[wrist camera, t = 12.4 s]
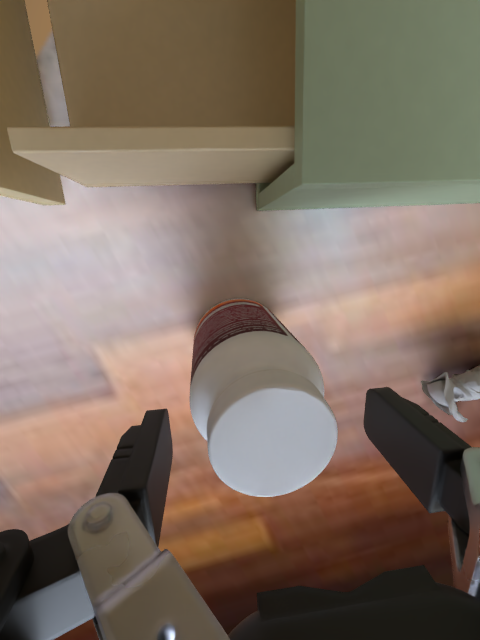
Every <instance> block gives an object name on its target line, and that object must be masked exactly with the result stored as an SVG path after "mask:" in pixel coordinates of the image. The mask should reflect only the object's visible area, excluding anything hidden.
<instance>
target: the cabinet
mask: <svg viewBox="0 0 480 640" xmlns="http://www.w3.org/2000/svg"><path fill="white" fill-rule="evenodd" d="M466 203H480V0H296V39H295V149H294V164H293V165H292V166H291V167H289V168H288V169H287V170H286V171H285V172H284V173H282V174H281V175H280V176H279V177H278V178H277V179H276V180H274V181H273V182H272V183H256V210H257V211H267V210H295V209H324V208H352V207H381V206H409V205H438V204H466Z"/></svg>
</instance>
